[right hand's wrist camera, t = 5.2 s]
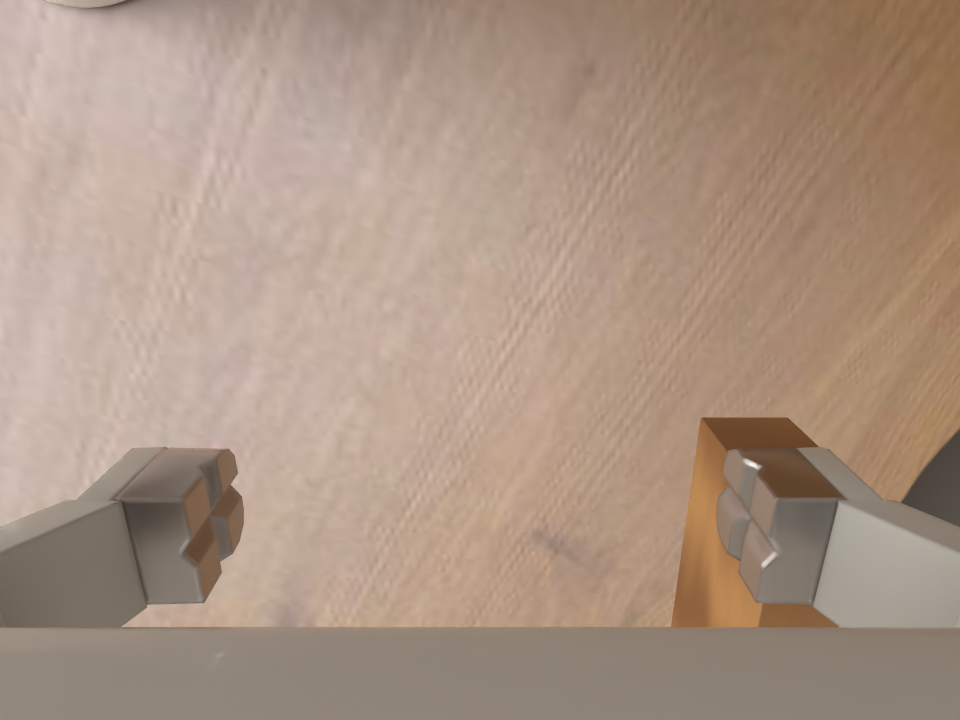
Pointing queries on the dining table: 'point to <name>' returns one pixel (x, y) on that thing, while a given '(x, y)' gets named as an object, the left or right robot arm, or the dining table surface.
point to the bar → (704, 562)
